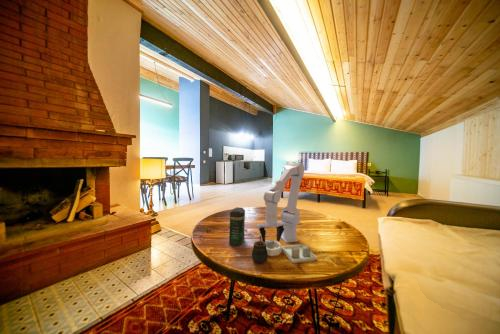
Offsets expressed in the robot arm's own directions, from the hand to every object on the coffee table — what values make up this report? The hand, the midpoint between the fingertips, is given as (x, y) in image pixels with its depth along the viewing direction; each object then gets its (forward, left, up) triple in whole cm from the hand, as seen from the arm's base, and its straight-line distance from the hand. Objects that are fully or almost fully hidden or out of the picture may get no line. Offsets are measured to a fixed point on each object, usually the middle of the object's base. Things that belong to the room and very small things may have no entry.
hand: (270, 241), depth 94 cm
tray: (+6, +11, -5) cm, 14 cm away
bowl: (0, 0, -5) cm, 5 cm away
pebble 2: (+10, +14, -4) cm, 18 cm away
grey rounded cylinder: (0, 0, -4) cm, 4 cm away
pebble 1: (+10, +9, -4) cm, 13 cm away
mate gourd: (+8, -8, -5) cm, 12 cm away
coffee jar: (-13, -15, -5) cm, 20 cm away
